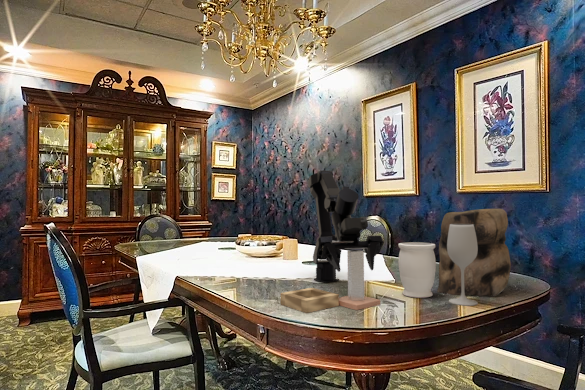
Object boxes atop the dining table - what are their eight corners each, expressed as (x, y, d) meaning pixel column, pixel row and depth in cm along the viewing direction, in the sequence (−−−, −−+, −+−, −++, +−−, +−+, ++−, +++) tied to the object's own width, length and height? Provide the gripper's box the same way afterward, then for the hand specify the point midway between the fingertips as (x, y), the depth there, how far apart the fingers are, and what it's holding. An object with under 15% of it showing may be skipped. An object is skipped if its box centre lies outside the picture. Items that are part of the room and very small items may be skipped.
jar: (417, 300, 109) (416, 246, 109) (391, 293, 118) (390, 243, 118) (444, 296, 114) (443, 244, 114) (417, 289, 123) (416, 241, 123)
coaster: (355, 298, 112) (355, 294, 112) (380, 304, 105) (380, 299, 105) (332, 303, 107) (332, 298, 107) (356, 310, 100) (356, 305, 100)
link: (348, 298, 108) (347, 250, 108) (360, 297, 108) (359, 249, 108) (351, 301, 104) (351, 251, 105) (364, 300, 105) (363, 251, 105)
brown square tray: (311, 298, 113) (311, 287, 113) (338, 305, 104) (338, 294, 104) (280, 304, 106) (280, 293, 106) (306, 313, 98) (306, 300, 98)
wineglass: (482, 306, 102) (480, 225, 103) (450, 305, 104) (449, 225, 104) (474, 299, 110) (473, 223, 110) (445, 298, 111) (444, 223, 112)
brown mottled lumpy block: (508, 300, 108) (506, 209, 109) (432, 292, 119) (430, 209, 120) (514, 287, 125) (512, 208, 125) (446, 281, 136) (445, 208, 136)
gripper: (317, 207, 110) (327, 252, 99) (380, 207, 113) (397, 250, 102) (311, 233, 118) (320, 278, 107) (371, 232, 121) (386, 275, 110)
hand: (356, 270), depth 106 cm, fingers open, 9 cm apart
